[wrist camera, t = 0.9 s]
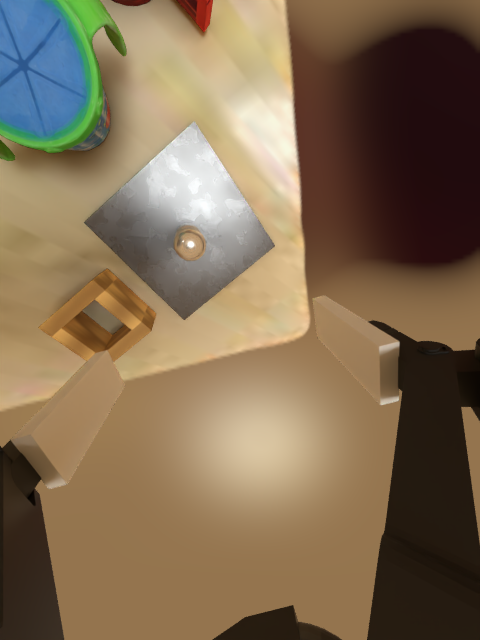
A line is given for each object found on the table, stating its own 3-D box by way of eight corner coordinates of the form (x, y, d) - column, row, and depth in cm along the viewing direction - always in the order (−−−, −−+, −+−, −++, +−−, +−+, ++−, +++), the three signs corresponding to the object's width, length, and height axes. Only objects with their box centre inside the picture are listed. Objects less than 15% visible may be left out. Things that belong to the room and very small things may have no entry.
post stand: (85, 222, 31) (31, 228, 20) (193, 122, 29) (200, 69, 18) (184, 318, 38) (184, 361, 28) (274, 245, 37) (311, 260, 26)
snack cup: (55, 197, 29) (-4, 191, 20) (-33, 94, 24) (-163, 24, 15) (164, 125, 28) (155, 84, 19) (97, 4, 24) (42, -126, 14)
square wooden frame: (60, 309, 34) (38, 327, 29) (107, 268, 33) (92, 279, 28) (113, 348, 38) (102, 371, 33) (156, 313, 37) (151, 330, 32)
